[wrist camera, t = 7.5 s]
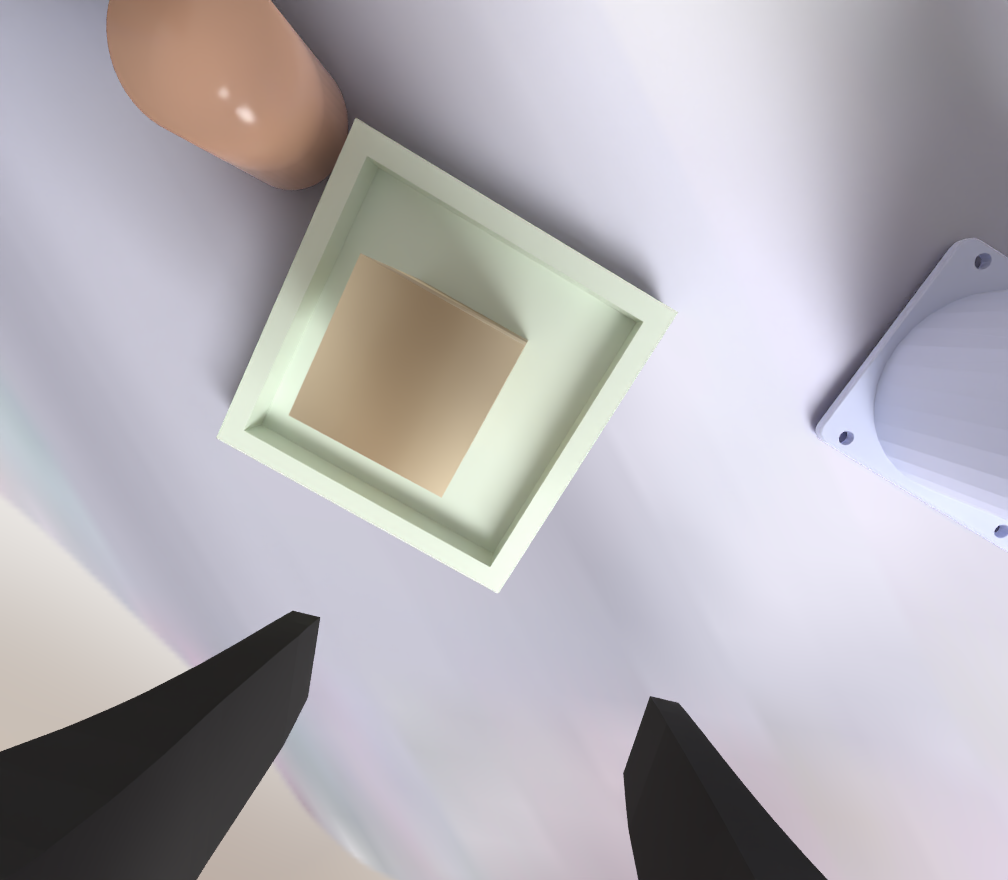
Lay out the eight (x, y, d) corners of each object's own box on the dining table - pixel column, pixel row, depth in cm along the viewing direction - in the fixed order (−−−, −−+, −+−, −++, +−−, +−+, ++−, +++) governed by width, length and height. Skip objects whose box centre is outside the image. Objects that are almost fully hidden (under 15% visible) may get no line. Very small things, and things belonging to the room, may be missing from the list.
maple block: (527, 340, 18) (524, 345, 12) (470, 445, 19) (441, 497, 13) (418, 278, 18) (360, 253, 12) (366, 388, 19) (288, 415, 13)
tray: (664, 313, 18) (678, 312, 16) (501, 571, 20) (498, 593, 19) (374, 139, 17) (355, 117, 15) (244, 428, 20) (216, 438, 18)
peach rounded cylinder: (369, 93, 17) (302, -2, 12) (316, 213, 18) (235, 170, 13) (255, 24, 17) (140, -102, 12) (208, 150, 18) (84, 81, 13)
